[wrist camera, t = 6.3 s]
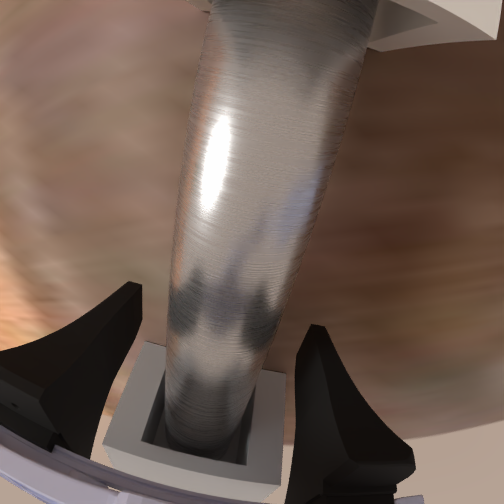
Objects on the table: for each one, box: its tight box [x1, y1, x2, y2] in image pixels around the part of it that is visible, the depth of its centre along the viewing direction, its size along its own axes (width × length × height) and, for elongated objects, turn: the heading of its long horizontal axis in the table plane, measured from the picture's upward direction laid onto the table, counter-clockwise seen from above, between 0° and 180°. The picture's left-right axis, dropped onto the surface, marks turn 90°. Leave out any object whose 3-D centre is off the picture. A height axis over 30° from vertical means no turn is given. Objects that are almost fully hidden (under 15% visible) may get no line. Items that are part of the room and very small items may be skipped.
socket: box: [102, 341, 286, 503], centre depth 16 cm, size 8×6×7 cm
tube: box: [165, 0, 378, 460], centre depth 10 cm, size 4×22×4 cm, turn 168°
